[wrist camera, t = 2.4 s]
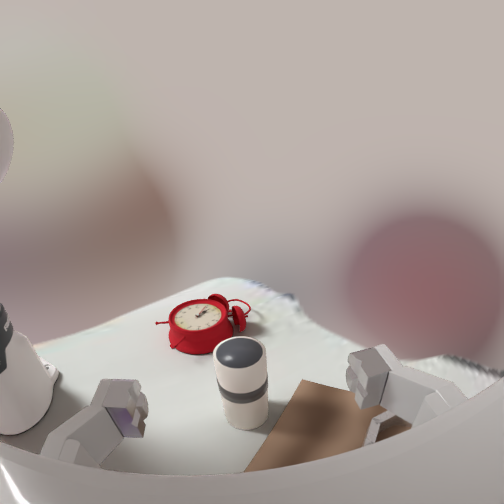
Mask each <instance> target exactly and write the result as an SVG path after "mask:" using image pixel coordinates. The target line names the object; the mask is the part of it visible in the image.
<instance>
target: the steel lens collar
mask: <svg viewBox="0 0 504 504" xmlns="http://www.w3.org/2000/svg"><path fill="white" fill-rule="evenodd" d="M393 425H399V426H406V427H412V424H411V423H409V422H407V421H405V420H404V419H402V418H400V417H399V416H397V415H395V414H394V413H392V412H390V411H389V410H387V411H385V412H383V413H382V414H380V415H378V416H376V417H374V418H372V420H371V422H370V424H369V427H368V429H367V432H366V435H365V438H364V441H363V444H362V447H364V446H367V445H370V444H373V443H375V441H376V437H377V434H378V433H380V432H382V431H384V430H385V429H387V428H389V427H391V426H393Z"/></svg>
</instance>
